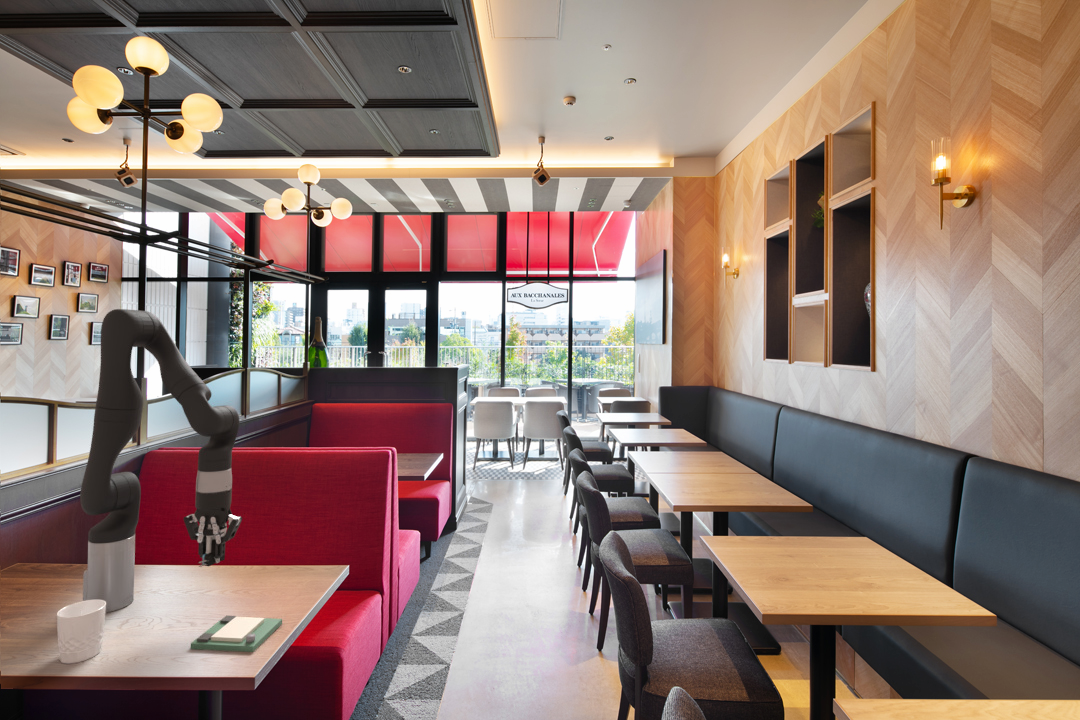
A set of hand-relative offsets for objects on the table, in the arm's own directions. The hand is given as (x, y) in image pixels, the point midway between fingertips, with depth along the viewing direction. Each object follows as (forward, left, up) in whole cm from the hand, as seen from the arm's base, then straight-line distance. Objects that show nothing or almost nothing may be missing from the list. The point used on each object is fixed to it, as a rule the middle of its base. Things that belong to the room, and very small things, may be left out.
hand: (211, 556), depth 129 cm
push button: (0, 0, -2) cm, 2 cm away
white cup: (-16, -18, -15) cm, 28 cm away
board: (+12, -8, -15) cm, 21 cm away
